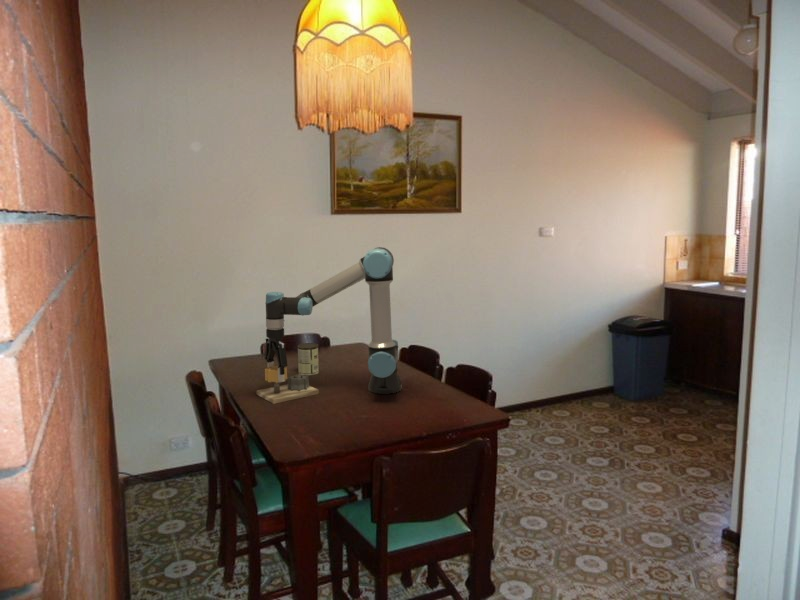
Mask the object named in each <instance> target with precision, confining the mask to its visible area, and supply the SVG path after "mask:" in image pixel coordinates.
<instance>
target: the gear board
mask: <svg viewBox="0 0 800 600" xmlns="http://www.w3.org/2000/svg"><path fill="white" fill-rule="evenodd" d="M309 378H310V375H300V374H299V373H298V374H297V373H296V374H294V375H288V377H287V379H286V381H287V384H282V385H280V384H281V382H278V383H276V382H273V386H272V387H267V388H262V389H258V390H256V395H257V396H258V397H261V398H262V399H264V400H266V401H268V402H270V403H272V404H273V405H275V404H278V403H283V402H288V401H292V400H296V399H297V400H298V399H301V398H306V397H312V396H315V395H319V394H320V391H319V388H316V387H313V386H311V385H310V379H309Z"/></svg>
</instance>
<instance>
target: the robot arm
mask: <svg viewBox="0 0 800 600" xmlns="http://www.w3.org/2000/svg"><path fill="white" fill-rule="evenodd" d="M394 261H395V259H394V256H393V253H392V252H391V251H390V250H389V249H387V248H386V247H382V246H381V247H379V246H377V247H375V248H372V249H371V250H369V251H368V252H367V253H366V254H365V255H364V256H363V257H360V259H359V262H356V263H355V264H353V265H351V266H350V267H348V268H346V269H344V270H342V271H340V272H339V273H337V274H335V275H333V276H331V277H329V278H328V279H325V280H324V281H322V282H320V283H318V284H317V285H314V286H313V287H311V288H309V289H308V290H306V291H304V292H301V293H300V294H298V295H297V296H295V297H294V296H293V297H292V296H291V297H289V296H288V297H287V296H285V295H284V292H282V291H270V292H267V293H266V294H265V328H266V330H265V333H266V335H265V336H266V338H265V352H264V360H265V361H266V362H267V367H273V366H275V359H274V357H275V355H276V360H277V364H278V365H277V366H278V382H279V383H283V382H286V379H285V372H284V368H286V367H288V359H287V350H286V348H287V345H286V343H285V342H283V341H282V339H283V338H284V337H285V327H284V326H285V315H287V316H289V315H290V316H310V315H311V314H312V312H313V308H314V307H315V306H317V305H318V304H320V303H322V302H324V301H325V300H328V299H329V298H330V299H331V298H332V297H334V296H336V295H337V294H339V293H340V292H342V291H345V290H346V289H349V288H350V287H352V286H354V285H355V284H358V283H360V282H361V281H364V280H365V281H364V282H365V283H366V284H367V285H368V286H369V291H368V292H369V310H370V311H369V312H370V329H371V330H370V334H371V335H370V336H371V341H370V342H369V343H368V360H367V367H368V370H369V372H370V373H371V376H370V379H369V382H368V391H369V392H371V393H373V394H377V393H378V395H391V394H390V393H393V394H397V393H400V392H401V391H402V390H403V385H402V380H401V378H400V374H399V343H398V341H397V339H393V337H392V332H393V331H392V314H391V313H392V312H391V288H390V287H391V283H392V282H394V276H393V275H394V271H393V269H394V268H393V266H394ZM401 389H402V390H401ZM399 391H400V392H399ZM396 392H397V393H396Z"/></svg>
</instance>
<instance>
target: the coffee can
mask: <svg viewBox="0 0 800 600" xmlns="http://www.w3.org/2000/svg"><path fill="white" fill-rule="evenodd" d="M297 361H298V362H297V363H298V365H297V366H298V374H300V375H305V376H314V375H317V374H319V372H320V371H319V369H320V368H319V367H320V366H319V365H320V364H319V363H320V362H319V344H318V343H315V342H304V343H300V344H298V345H297Z"/></svg>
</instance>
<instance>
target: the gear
mask: <svg viewBox="0 0 800 600" xmlns="http://www.w3.org/2000/svg"><path fill="white" fill-rule="evenodd" d="M278 366H279V365H274V366H273V367H268V366H267V367H266V368H264V381H266V382H267V383H272V382H273V383H274V382H276V383H278ZM284 372H285V380H287V378H288V367H284Z"/></svg>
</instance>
